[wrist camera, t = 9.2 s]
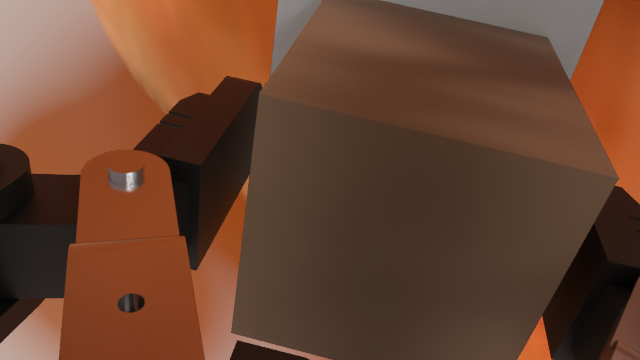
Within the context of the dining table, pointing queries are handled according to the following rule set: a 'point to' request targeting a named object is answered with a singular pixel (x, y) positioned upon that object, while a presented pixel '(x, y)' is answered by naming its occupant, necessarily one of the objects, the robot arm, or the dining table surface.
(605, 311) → the robot arm
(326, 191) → the walnut block
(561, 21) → the tower top
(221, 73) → the dining table surface
